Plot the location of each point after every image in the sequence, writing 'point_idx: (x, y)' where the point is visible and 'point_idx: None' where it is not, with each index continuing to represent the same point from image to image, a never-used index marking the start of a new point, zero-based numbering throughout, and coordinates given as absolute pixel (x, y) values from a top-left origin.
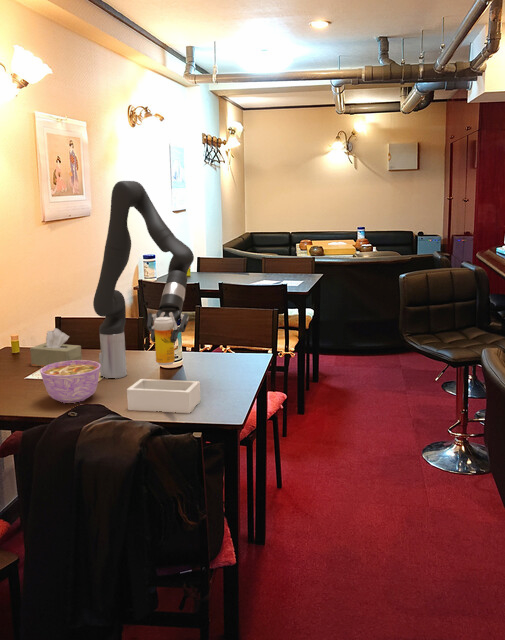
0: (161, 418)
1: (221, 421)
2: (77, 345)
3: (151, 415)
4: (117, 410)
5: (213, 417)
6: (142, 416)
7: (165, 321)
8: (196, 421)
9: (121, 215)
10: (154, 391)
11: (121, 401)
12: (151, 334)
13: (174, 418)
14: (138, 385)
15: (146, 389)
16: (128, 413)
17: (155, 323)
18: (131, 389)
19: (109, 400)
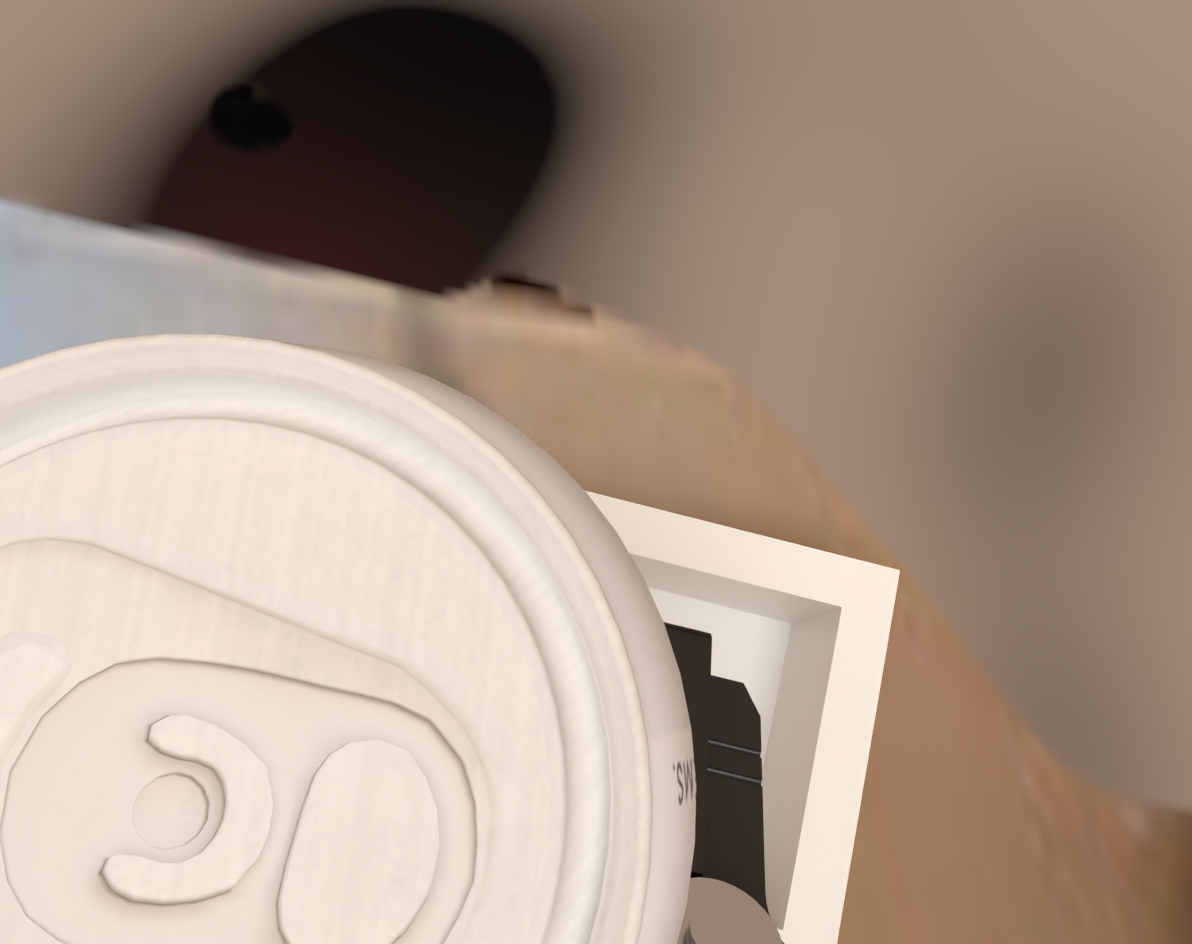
0: (517, 364)
1: (36, 249)
2: None
3: (607, 441)
4: (922, 597)
5: (91, 342)
6: (679, 426)
7: (75, 373)
8: (235, 270)
9: None
10: (591, 495)
11: (949, 860)
12: (742, 786)
13: (412, 353)
14: (807, 767)
15: (684, 546)
16: (809, 510)
17: (596, 506)
18: (848, 562)
19: (1075, 905)
